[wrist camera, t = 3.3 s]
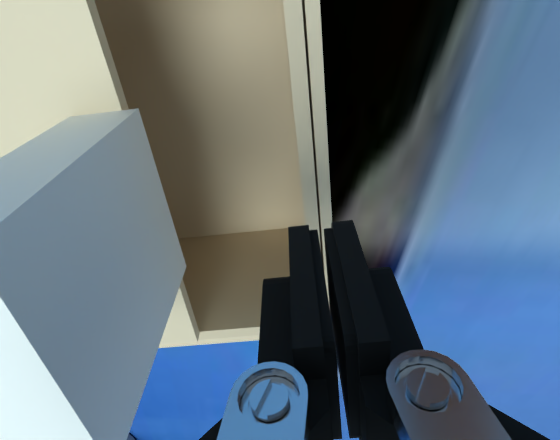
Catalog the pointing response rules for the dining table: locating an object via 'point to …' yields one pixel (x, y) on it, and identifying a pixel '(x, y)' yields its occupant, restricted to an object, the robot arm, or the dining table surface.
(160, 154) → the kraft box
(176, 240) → the top flap
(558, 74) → the dining table surface
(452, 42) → the dining table surface
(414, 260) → the dining table surface
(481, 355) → the dining table surface
